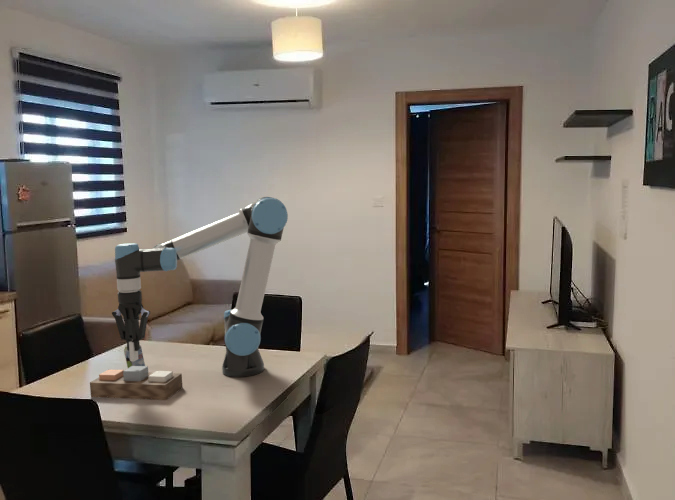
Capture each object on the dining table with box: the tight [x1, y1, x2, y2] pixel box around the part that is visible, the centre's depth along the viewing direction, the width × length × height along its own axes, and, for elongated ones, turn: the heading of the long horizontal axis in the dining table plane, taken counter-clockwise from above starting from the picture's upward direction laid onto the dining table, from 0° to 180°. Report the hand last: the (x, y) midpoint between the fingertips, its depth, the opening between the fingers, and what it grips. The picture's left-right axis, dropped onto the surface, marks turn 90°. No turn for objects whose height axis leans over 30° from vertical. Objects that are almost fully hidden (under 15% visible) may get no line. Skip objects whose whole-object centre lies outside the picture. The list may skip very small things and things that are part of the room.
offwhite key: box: [148, 370, 174, 382], centre depth 211 cm, size 6×6×4 cm
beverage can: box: [123, 344, 146, 369], centre depth 231 cm, size 6×7×12 cm
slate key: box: [123, 365, 149, 381], centre depth 213 cm, size 6×6×4 cm
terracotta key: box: [98, 369, 125, 380], centre depth 215 cm, size 6×6×4 cm
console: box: [89, 372, 184, 401], centre depth 213 cm, size 27×12×5 cm, turn 78°
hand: (134, 360), depth 212 cm, fingers closed
